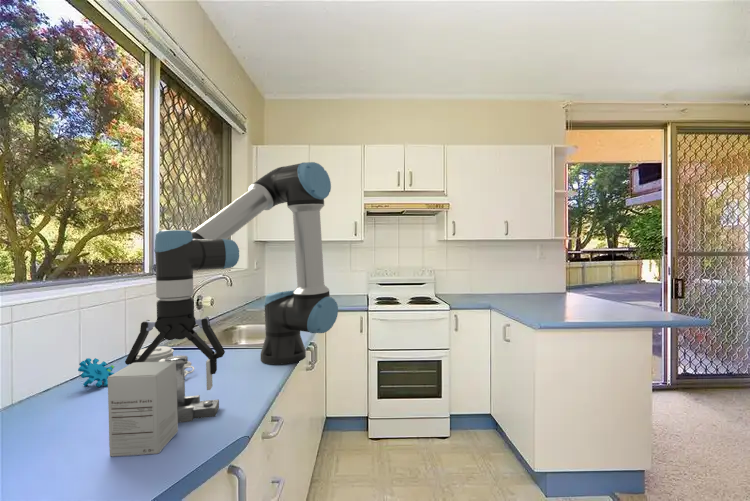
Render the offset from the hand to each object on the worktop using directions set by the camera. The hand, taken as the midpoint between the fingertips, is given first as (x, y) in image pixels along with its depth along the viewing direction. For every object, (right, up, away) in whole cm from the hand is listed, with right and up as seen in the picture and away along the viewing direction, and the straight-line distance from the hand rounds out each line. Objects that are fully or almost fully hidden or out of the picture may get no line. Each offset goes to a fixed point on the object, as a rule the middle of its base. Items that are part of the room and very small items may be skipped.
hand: (177, 391), depth 88 cm
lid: (-30, -6, +42) cm, 52 cm away
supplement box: (0, -6, -12) cm, 14 cm away
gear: (-33, -6, +21) cm, 40 cm away
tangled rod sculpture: (-17, -6, +25) cm, 31 cm away
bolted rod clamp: (0, -6, 0) cm, 6 cm away
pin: (0, -6, 0) cm, 6 cm away
